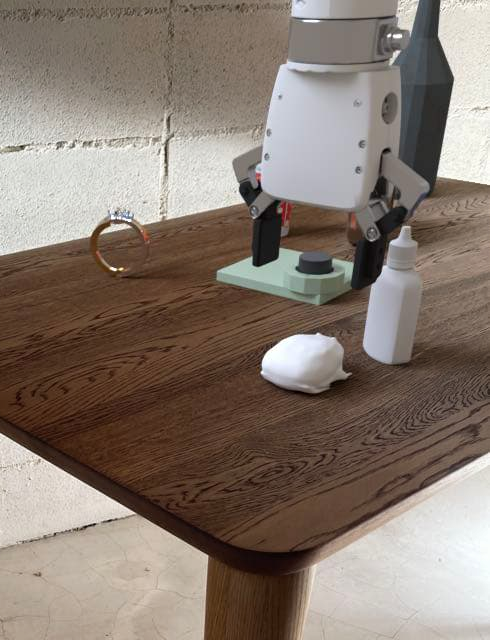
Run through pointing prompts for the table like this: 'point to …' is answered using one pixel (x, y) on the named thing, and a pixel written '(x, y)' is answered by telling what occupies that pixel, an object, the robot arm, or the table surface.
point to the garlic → (304, 363)
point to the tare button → (315, 263)
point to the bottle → (424, 95)
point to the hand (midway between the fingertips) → (312, 274)
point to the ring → (119, 218)
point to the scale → (290, 278)
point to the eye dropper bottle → (394, 304)
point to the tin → (353, 227)
